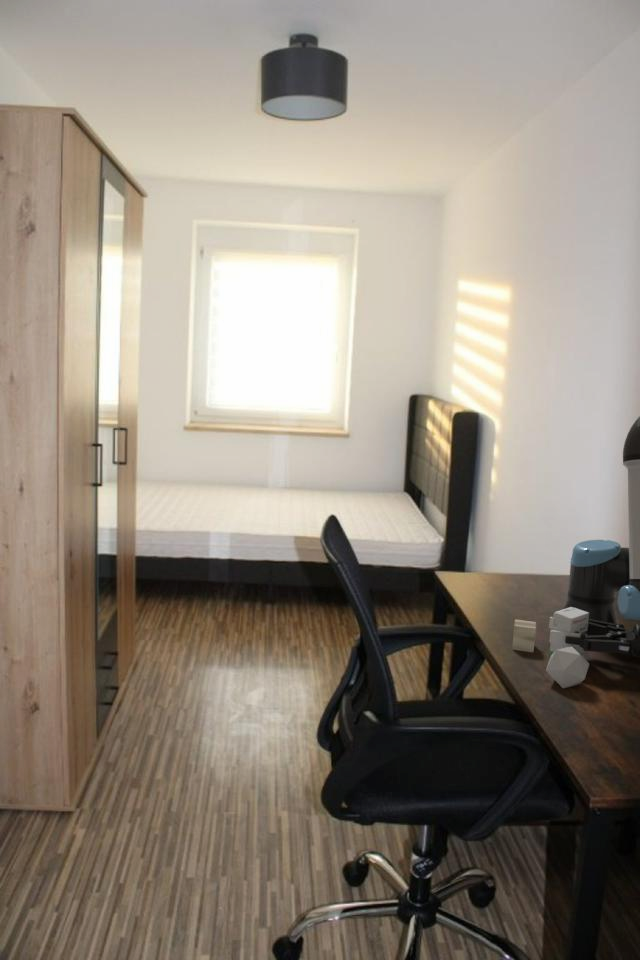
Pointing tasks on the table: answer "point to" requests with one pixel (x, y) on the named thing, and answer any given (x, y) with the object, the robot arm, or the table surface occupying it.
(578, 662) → the die
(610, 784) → the table surface
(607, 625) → the robot arm
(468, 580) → the table surface
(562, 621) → the ink box
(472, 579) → the table surface
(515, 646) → the birch block
